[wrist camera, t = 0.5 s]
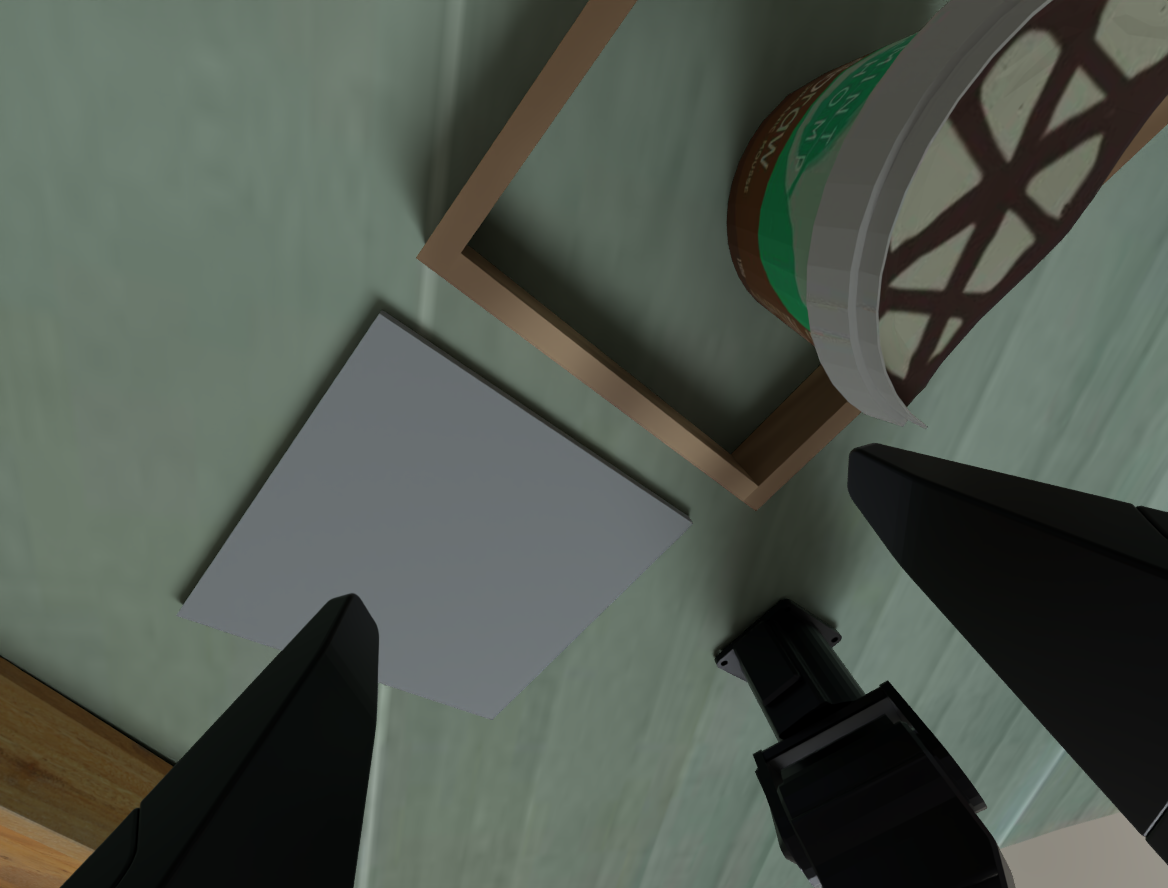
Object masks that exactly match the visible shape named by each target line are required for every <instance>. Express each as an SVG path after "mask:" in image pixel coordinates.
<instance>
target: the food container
mask: <svg viewBox="0 0 1168 888" xmlns="http://www.w3.org/2000/svg"><path fill="white" fill-rule="evenodd" d="M1167 95H1168V0H951V1H950V2H949V3H947V4H946V5H945V6H944V7H943V8H942V9H940V10H939V11H938V12H937V13H936V14H935V15H934V16H933V17H932V18H931V19H930V21H929V22H928V23H927V24H926V25H925V26H924V27H923V28H922V29H921V30H920V31H919V32H917V33H915V34H913V35H910V36H908V37H906V38H904V39H901V40H899V41H897V42H894V43H892V44H890V45H888V46H885V47H883V48H881V49H879V50H876V51H874V52H872V53H870V54H867V55H865V56H863V57H861V58H858V59H856V60H854V61H852V62H849V63H847V64H845V65H842V66H840V67H838V68H836V69H833V70H831V71H829V72H827V73H824V74H823V75H821V76H819V77H818V78H816V79H814V80H813V81H811V82H809V83H808V84H806V85H804V86H803V87H801V88H799V89H797V90H796V91H794V92H792V93H791V94H789V95H787V96H786V98H785V99H784V100H783V101H782V102H781V103H780V104H779V105H778V106H777V107H776V108H775V109H774V110H773V111H772V112H771V113H770V114H769V115H768V116H767V118H766V119H765V120H764V121H763V122H762V123H761V125H760V126H759V128H758V129H757V131H756V132H755V134H754V135H753V137H752V138H751V140H750V141H749V143H748V145H747V147H746V149H745V151H744V153H743V155H742V157H741V159H740V162H739V164H738V167H737V170H736V173H735V176H734V179H733V182H732V186H731V191H730V196H729V201H728V211H727V235H728V245H729V249H730V254H731V258H732V262H733V264H734V267H735V269H736V272H737V274H738V276H739V278H740V280H741V281H742V283H743V285H744V286H745V288H746V290H747V291H748V292H749V293H750V294H751V295H752V296H753V297H754V299H755V300H756V301H757V302H758V303H760V304H761V305H762V306H764V307H765V308H766V309H767V310H769V311H770V312H771V313H773V314H774V315H775V316H776V317H778V318H779V319H780V320H781V321H783V322H784V323H785V324H787V325H788V326H789V327H790V328H792V329H793V330H794V331H796V332H797V333H798V334H799V335H801V336H802V337H803V338H805V339H806V340H807V341H808V342H810V343H811V344H812V345H814V346H815V348H816V351H817V354H818V357H819V361H820V362H821V364H822V366H823V368H824V370H825V371H826V373H827V375H828V377H829V379H830V380H831V382H832V384H833V385H834V386H835V387H836V388H837V390H838V391H839V392H840V393H841V394H842V395H843V396H844V398H845V399H846V400H847V401H848V402H849V403H850V404H852V405H853V406H855V407H856V408H857V409H859V410H860V411H861V412H863V413H864V414H866V415H869V416H872V417H875V418H878V419H881V420H884V421H887V422H890V423H893V424H896V425H899V426H902V427H903V426H904V425H905V423H906V422H907V421H908V420H909V421H911V422H913V423H915V424H917V425H919V426H921V427H922V428H924V429H927V428H928V426H926V425H925V424H924V423H923V422H921V421H920V420H919V419H918V418H916V417H915V416H914V415H913V414H912V413H911V412H910V411H909V410H908V408H907V406H908V405H909V404H910V403H911V402H912V400H913V399H914V398H915V397H916V396H917V395H918V394H919V393H920V392H921V391H922V390H923V389H924V388H925V387H926V385H927V384H928V382H929V380H930V379H931V377H932V376H933V375H934V373H935V372H936V370H937V369H938V368H939V366H940V365H941V364H942V362H943V361H944V360H945V359H946V357H947V356H948V355H949V354H950V353H951V352H952V351H953V350H954V348H955V347H956V346H957V345H958V344H959V343H960V342H961V340H962V339H963V338H964V337H965V336H966V335H967V334H968V333H969V331H970V330H971V329H972V328H973V327H974V326H975V325H976V323H977V322H978V321H979V320H980V319H981V318H982V317H983V316H984V315H985V314H986V313H987V312H988V311H990V310H991V309H992V308H993V307H994V306H995V305H996V304H997V303H998V302H999V301H1000V300H1001V299H1002V298H1003V297H1004V296H1005V295H1006V294H1007V293H1008V292H1009V291H1010V290H1012V289H1013V288H1014V287H1015V286H1016V285H1017V284H1018V283H1019V282H1020V281H1021V280H1022V279H1023V278H1024V277H1025V276H1026V275H1027V274H1028V273H1029V272H1030V271H1031V270H1032V269H1033V268H1034V267H1035V266H1036V265H1037V264H1038V263H1039V262H1040V261H1041V260H1042V259H1043V258H1044V257H1045V256H1046V255H1047V254H1048V253H1049V252H1050V251H1051V250H1052V249H1053V248H1054V247H1055V246H1056V245H1057V244H1058V243H1059V242H1060V241H1061V240H1062V239H1063V238H1064V237H1065V236H1066V234H1067V233H1068V232H1069V231H1070V230H1071V228H1072V227H1073V226H1074V224H1075V223H1076V221H1077V220H1078V219H1079V217H1080V216H1081V214H1082V213H1083V212H1084V210H1085V209H1086V208H1087V206H1088V205H1089V204H1090V202H1091V201H1092V200H1093V198H1094V197H1095V195H1096V194H1097V192H1098V191H1099V189H1100V188H1101V186H1102V185H1103V183H1104V182H1105V180H1106V179H1107V177H1108V176H1109V174H1110V173H1111V171H1112V170H1113V168H1114V167H1115V165H1116V164H1117V162H1118V160H1119V159H1120V157H1121V156H1122V154H1123V153H1124V152H1125V150H1126V149H1127V147H1128V146H1129V145H1130V143H1131V142H1132V141H1133V139H1134V138H1135V136H1136V135H1137V134H1138V132H1139V131H1140V130H1141V128H1142V127H1143V125H1144V124H1145V123H1146V121H1147V120H1148V119H1149V117H1150V116H1151V114H1152V113H1153V112H1154V111H1155V110H1156V108H1157V107H1158V106H1159V105H1160V104H1161V102H1162V101H1163V100H1164V99H1165V98H1166V96H1167Z"/></svg>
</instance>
